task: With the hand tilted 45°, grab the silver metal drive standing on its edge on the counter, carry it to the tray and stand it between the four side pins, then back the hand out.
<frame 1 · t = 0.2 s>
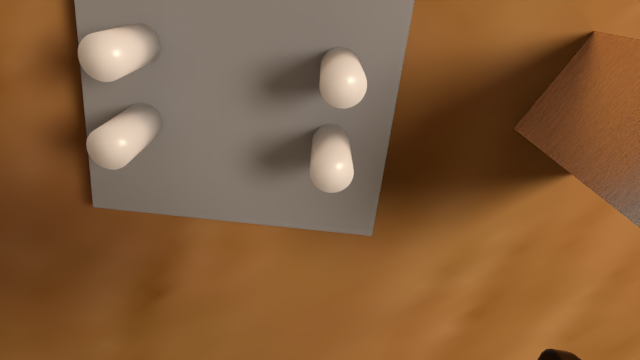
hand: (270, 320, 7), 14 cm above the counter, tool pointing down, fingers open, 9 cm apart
drive: (585, 106, 21), on the counter
pin tray: (244, 88, 20), on the counter
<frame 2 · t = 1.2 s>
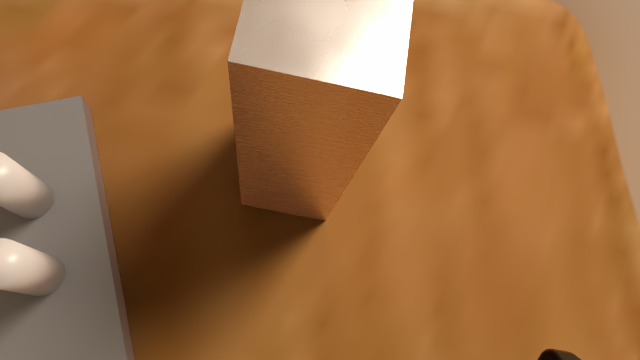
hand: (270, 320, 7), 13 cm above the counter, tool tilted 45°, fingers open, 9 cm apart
drive: (293, 163, 23), on the counter
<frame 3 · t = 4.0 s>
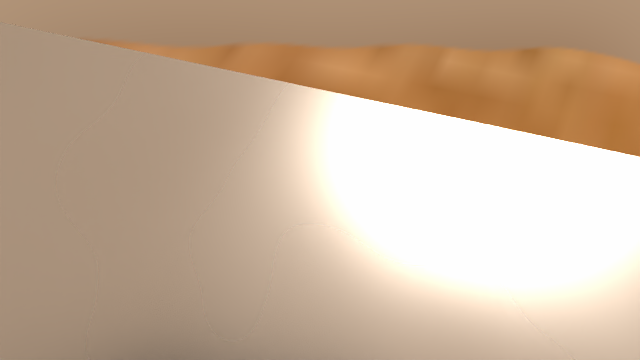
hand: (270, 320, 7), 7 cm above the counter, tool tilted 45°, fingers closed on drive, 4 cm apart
when the fingers open (9 cm above the counter, at t = 8.5 s): drive drops 1 cm, resting on pin tray.
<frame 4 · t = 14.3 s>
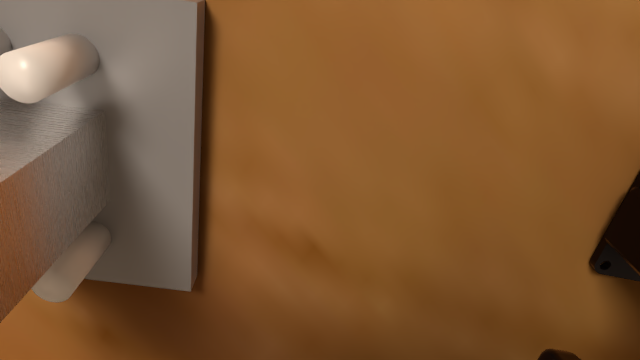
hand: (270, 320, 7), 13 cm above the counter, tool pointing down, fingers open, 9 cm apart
drive: (45, 149, 19), point 1 cm above the counter, touching pin tray
pin tray: (61, 138, 20), on the counter
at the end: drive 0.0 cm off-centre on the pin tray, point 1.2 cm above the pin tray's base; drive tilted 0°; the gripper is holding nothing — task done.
